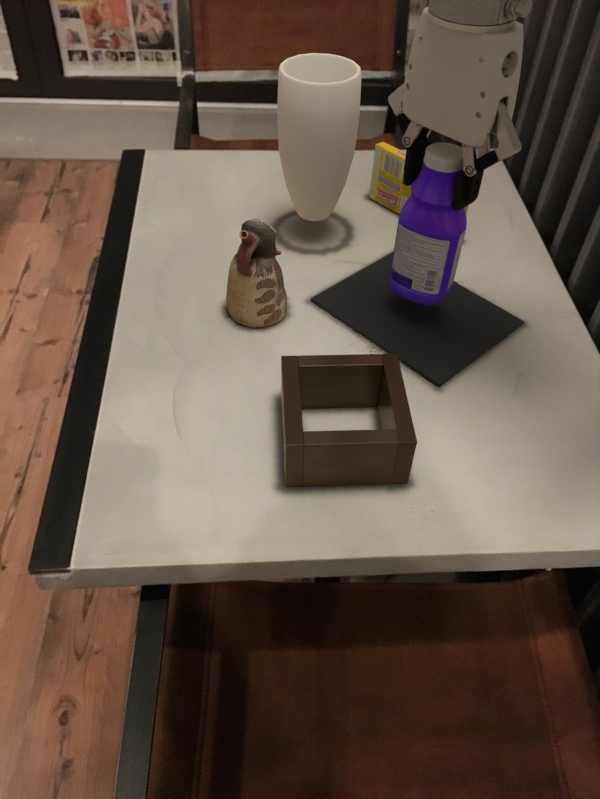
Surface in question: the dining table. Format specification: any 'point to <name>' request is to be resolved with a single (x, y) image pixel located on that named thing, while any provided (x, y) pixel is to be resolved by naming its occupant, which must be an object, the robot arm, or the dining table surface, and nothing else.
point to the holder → (347, 449)
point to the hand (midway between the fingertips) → (438, 191)
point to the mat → (418, 322)
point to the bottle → (430, 230)
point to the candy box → (390, 178)
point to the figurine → (256, 278)
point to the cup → (317, 128)
